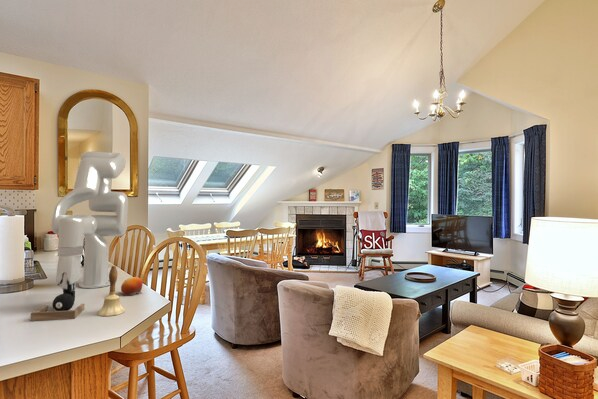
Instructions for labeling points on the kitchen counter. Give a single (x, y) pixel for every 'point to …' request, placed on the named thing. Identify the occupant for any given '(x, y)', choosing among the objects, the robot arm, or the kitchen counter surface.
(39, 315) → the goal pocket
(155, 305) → the kitchen counter surface
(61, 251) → the robot arm
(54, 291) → the kitchen counter surface
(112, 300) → the hand bell
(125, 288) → the fruit
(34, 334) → the kitchen counter surface
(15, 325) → the kitchen counter surface
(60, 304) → the billiard ball
